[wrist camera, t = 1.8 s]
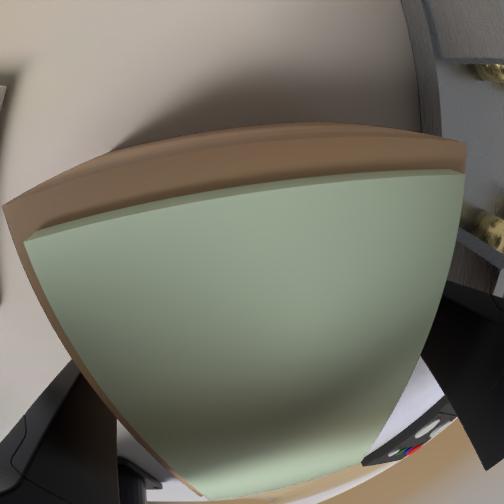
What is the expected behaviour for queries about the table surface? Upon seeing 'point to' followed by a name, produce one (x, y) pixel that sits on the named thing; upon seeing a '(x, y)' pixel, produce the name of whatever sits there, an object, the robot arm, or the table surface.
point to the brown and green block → (248, 289)
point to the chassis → (467, 120)
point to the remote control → (414, 434)
